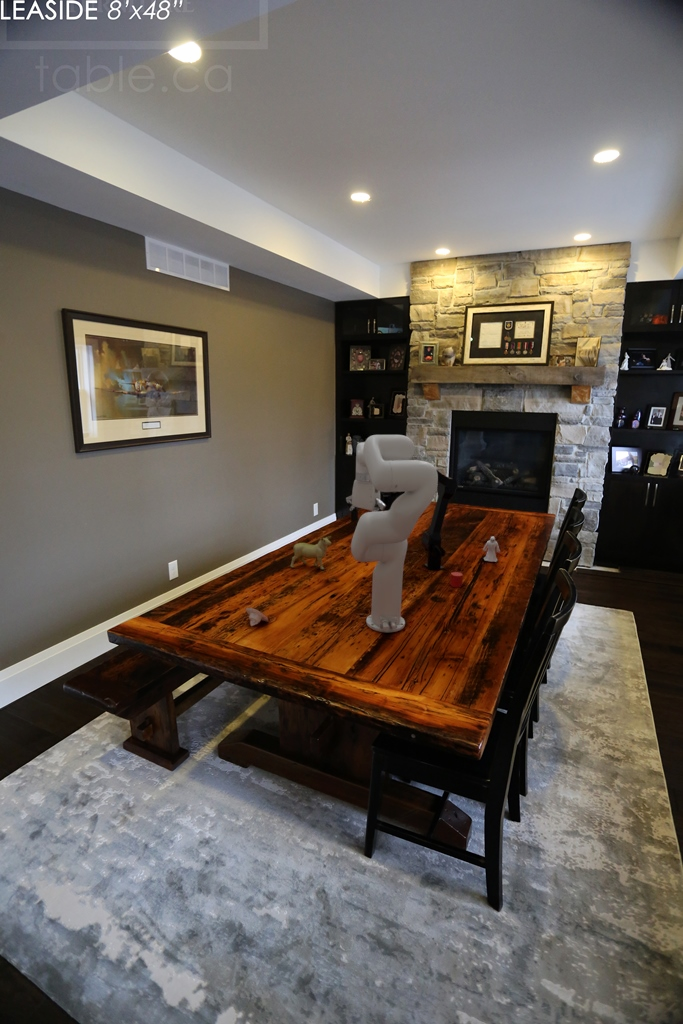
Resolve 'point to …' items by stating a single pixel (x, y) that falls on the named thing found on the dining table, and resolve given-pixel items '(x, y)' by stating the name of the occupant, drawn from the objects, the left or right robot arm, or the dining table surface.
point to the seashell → (255, 616)
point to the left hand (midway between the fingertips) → (364, 523)
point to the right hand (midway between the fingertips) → (388, 544)
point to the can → (456, 579)
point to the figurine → (491, 550)
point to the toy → (311, 551)
